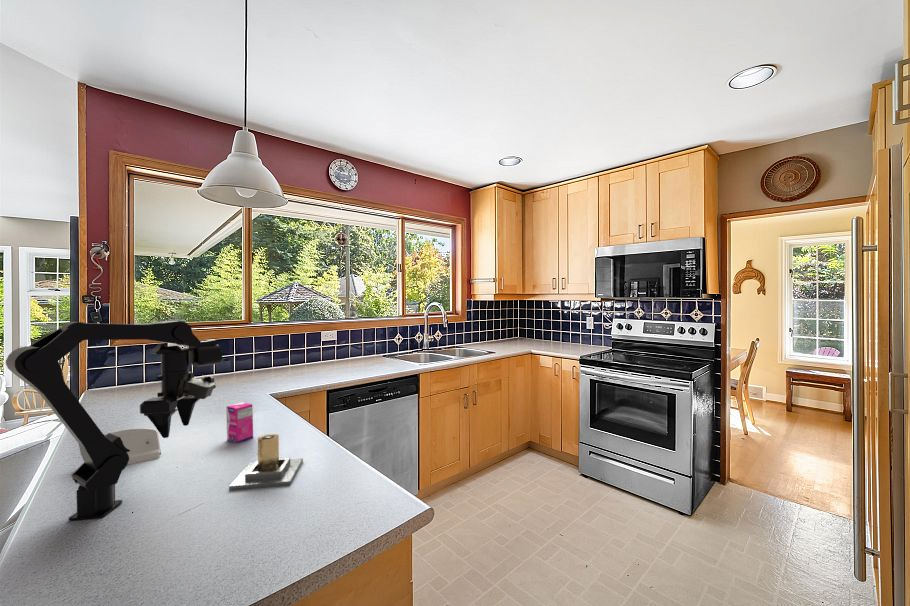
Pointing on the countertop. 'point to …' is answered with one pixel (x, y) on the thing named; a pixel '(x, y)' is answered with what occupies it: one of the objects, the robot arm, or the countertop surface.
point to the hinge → (140, 444)
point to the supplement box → (239, 422)
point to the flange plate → (267, 475)
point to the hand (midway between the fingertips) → (176, 431)
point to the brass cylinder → (268, 452)
